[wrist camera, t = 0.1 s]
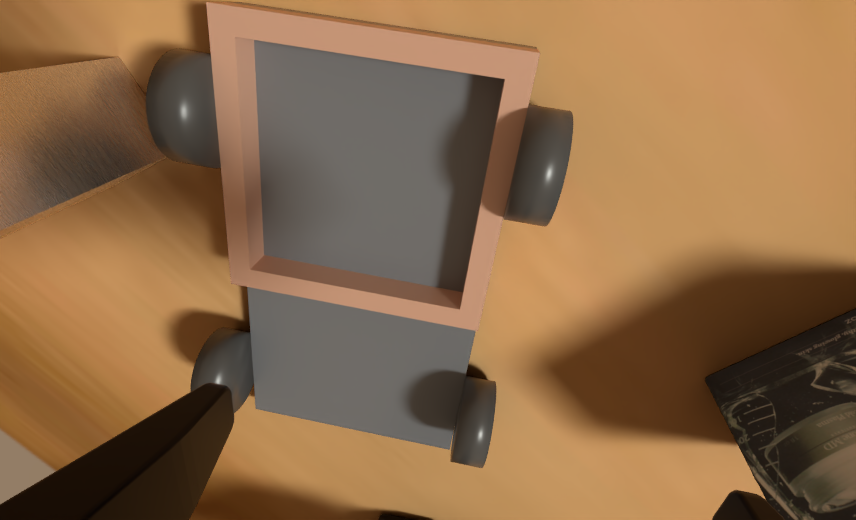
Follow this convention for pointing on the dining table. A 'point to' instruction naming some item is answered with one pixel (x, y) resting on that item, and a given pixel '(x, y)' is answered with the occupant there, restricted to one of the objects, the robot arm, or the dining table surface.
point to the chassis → (360, 209)
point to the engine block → (68, 137)
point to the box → (798, 420)
